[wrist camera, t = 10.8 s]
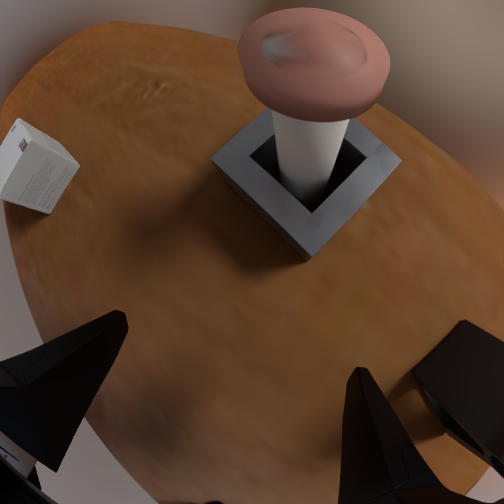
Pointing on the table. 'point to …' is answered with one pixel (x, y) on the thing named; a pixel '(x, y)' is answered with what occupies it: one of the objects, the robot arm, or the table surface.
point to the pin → (312, 87)
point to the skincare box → (34, 168)
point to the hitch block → (286, 205)
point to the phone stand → (468, 390)
